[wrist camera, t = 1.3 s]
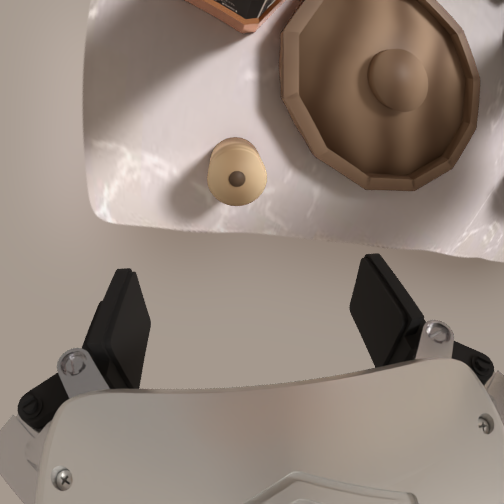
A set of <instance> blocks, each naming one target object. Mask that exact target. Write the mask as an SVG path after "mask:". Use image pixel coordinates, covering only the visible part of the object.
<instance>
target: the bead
mask: <svg viewBox="0 0 504 504" xmlns="http://www.w3.org/2000/svg"><path fill="white" fill-rule="evenodd" d="M207 182H208V187H209V189H210V191H211V193H212V194H213V196H214V197H215V198H216V199H217V200H219V201H220V202H222V203H224V204H227V205H231V206H242V205H246V204H249V203H251V202H253V201H254V200H256V199H257V198H258V197H259V196H260V195H261V194H262V192H263V190H264V188H265V186H266V182H267V173H266V169H265V167H264V165H263V162H262V160H261V158H260V156H259V154H258V152H257V150H256V148H255V147H254V146H253V145H252V144H251V143H250V142H249V141H247V140H245V139H242V138H237V137H233V138H228V139H225V140H223V141H221V142H220V143H219V144H217V145H216V147H215V148H214V149H213V151H212V154H211V158H210V163H209V169H208V175H207Z"/></svg>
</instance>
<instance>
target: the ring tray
mask: <svg viewBox="0 0 504 504" xmlns="http://www.w3.org/2000/svg"><path fill="white" fill-rule="evenodd" d="M280 39H281V47H280V56H279V74H280V83H281V97H282V98H281V99H282V101H283V102H284V104H285V106H286V107H287V109H288V112H289V114H290V116H291V118H292V120H293V122H294V124H295V126H296V127H297V129H298V130H299V132H300V133H301V135H302V137H303V138H304V139H305V141H306V143H307V145H308V147H309V149H310V151H311V153H312V154H313V155H314V156H315V157H316V158H318V159H319V160H321V161H322V162H324V163H326V164H327V165H329V166H330V167H332V168H334V169H335V170H337V171H338V172H340V173H341V174H343V175H344V176H346V177H347V178H349V179H350V180H352V181H353V182H355V183H356V184H358V185H359V186H361V187H362V188H364V189H365V190H396V191H415V190H417V189H419V188H420V187H422V186H424V185H425V184H427V183H429V182H431V181H432V180H434V179H436V178H437V177H439V176H441V175H442V174H444V173H446V172H448V171H449V170H451V169H453V167H454V166H455V164H456V162H457V161H458V159H459V158H460V156H461V154H462V153H463V151H464V149H465V147H466V146H467V144H468V142H469V141H470V139H471V137H472V135H473V134H474V132H475V130H476V127H477V118H478V108H479V95H480V77H479V73H478V70H477V67H476V64H475V61H474V58H473V55H472V52H471V49H470V46H469V44H468V41H467V39H466V36H465V34H464V31H463V30H462V28H461V27H460V26H459V24H458V23H457V22H456V21H455V20H454V19H453V18H452V16H451V15H450V14H449V13H448V12H447V11H446V10H445V9H444V8H443V7H442V6H441V5H440V4H439V3H438V2H437V1H436V0H304V1H303V2H302V3H301V5H300V6H299V7H298V8H297V10H296V11H295V12H294V14H293V16H292V17H291V19H290V20H289V22H288V23H287V25H286V26H285V27H284V29H283V30H282V32H281V34H280Z"/></svg>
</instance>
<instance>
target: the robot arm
mask: <svg viewBox="0 0 504 504" xmlns="http://www.w3.org/2000/svg"><path fill="white" fill-rule="evenodd" d="M350 312H351V315H352V317H353V319H354V321H355V323H356V325H357V327H358V329H359V332H360V334H361V336H362V338H363V341H364V343H365V345H366V347H367V349H368V352H369V354H370V356H371V359H372V361H373V363H374V365H375V368H372V369H368V370H363V371H357V372H352V373H347V374H341V375H336V376H330V377H323V378H317V379H310V380H303V381H295V382H288V383H278V384H270V385H258V386H246V387H232V388H213V389H212V388H210V389H139V386H140V380H141V374H142V368H143V363H144V356H145V352H146V347H147V341H148V337H149V332H150V327H151V321H150V317H149V314H148V311H147V308H146V305H145V302H144V298H143V295H142V292H141V288H140V285H139V281H138V278H137V275H136V272H132V270H131V269H130V268H127V269H117V270H116V272H115V274H114V276H113V278H112V281H111V283H110V285H109V288H108V290H107V292H106V295H105V297H104V299H103V301H101V302H100V303H99V305H98V307H97V310H96V312H95V315H94V317H93V320H92V322H91V325H90V327H89V330H88V333H87V335H86V338H85V341H84V343H83V346H82V348H73V349H70V350H68V351H66V352H65V353H63V355H62V356H61V357H60V358H59V361H58V363H57V371H58V373H56V374H55V375H53V376H52V377H50V378H49V379H48V380H46V381H44V382H43V383H41V384H40V385H38V386H37V387H35V388H33V389H32V390H30V391H29V392H27V393H26V394H25V395H24V396H23V397H22V398H21V399H20V402H19V404H18V415H17V416H14V415H13V416H12V417H11V418H10V419H9V420H8V422H7V423H6V424H5V425H4V426H3V427H2V429H1V430H0V474H1V476H2V477H3V478H4V480H5V481H6V482H7V484H8V485H9V486H10V487H11V489H12V490H13V491H14V492H15V493H16V495H17V496H18V497H19V498H20V499H21V501H22V502H23V503H24V504H504V375H503V374H502V373H500V372H499V371H497V372H496V373H495V372H494V366H493V363H492V361H491V360H490V358H489V357H487V356H486V355H485V354H483V353H480V352H478V351H476V350H474V349H472V348H469V347H467V346H464V345H462V344H460V343H458V342H455V341H454V334H453V332H452V330H451V328H450V327H449V326H448V325H447V324H445V323H444V322H442V321H438V320H430V321H428V322H426V321H425V320H424V315H423V314H422V312H421V311H420V310H419V308H418V307H417V305H416V304H415V302H414V301H413V299H412V298H411V296H410V295H409V294H408V292H407V291H406V289H405V288H404V287H403V285H402V284H401V282H400V281H399V280H398V278H397V277H396V276H395V274H394V273H393V271H392V270H391V269H390V267H389V266H388V265H387V263H386V262H385V261H384V259H383V258H382V257H381V255H380V254H366V255H365V257H364V258H362V259H361V262H360V266H359V270H358V275H357V279H356V283H355V287H354V291H353V295H352V298H351V302H350Z"/></svg>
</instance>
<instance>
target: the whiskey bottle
mask: <svg viewBox="0 0 504 504" xmlns="http://www.w3.org/2000/svg"><path fill="white" fill-rule="evenodd" d="M185 1H187V2H189V3H191V4H192V5H194V6H196V7H198V8H200V9H202V10H204V11H205V12H207V13H209V14H211V15H212V16H214V17H216V18H218V19H219V20H221V21H223V22H224V23H226V24H228V25H229V26H231V27H232V28H234V29H236V30H237V31H239V32H240V33H242V34H243V33H251V32H256V31H257V29H258V28H259V27H260V26H261V25H262V24H263V23H264V22H265V21H266V20H267V19H268V18H269V17H270V16H271V15H272V14H273V13H274V12H275V11H276V10H277V9H278V8H279V7H280V6H281V5H282V4H283V3H284V2H285V1H286V0H185Z"/></svg>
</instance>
